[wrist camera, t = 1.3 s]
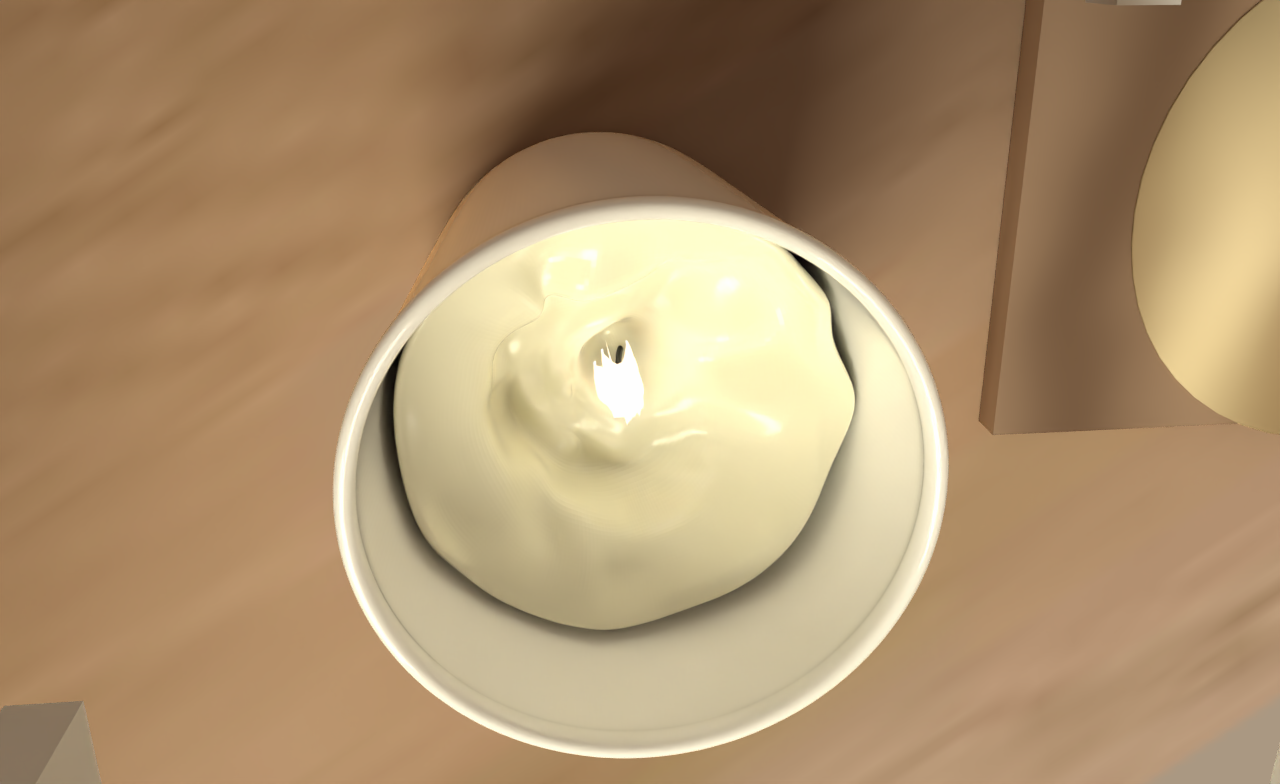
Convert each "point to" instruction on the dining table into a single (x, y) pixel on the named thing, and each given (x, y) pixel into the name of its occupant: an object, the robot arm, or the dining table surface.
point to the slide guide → (1140, 220)
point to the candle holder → (636, 458)
